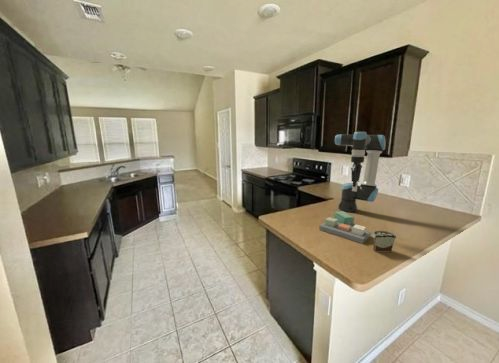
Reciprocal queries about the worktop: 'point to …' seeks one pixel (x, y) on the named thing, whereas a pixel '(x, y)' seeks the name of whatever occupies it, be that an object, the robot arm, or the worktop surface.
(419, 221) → the worktop surface
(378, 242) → the food container
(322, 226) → the button board
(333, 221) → the sage button
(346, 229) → the terracotta button
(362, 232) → the pale grey block
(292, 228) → the worktop surface
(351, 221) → the box
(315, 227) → the worktop surface
